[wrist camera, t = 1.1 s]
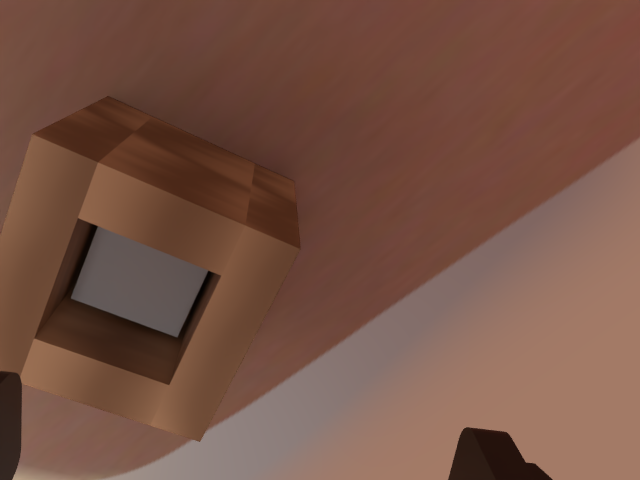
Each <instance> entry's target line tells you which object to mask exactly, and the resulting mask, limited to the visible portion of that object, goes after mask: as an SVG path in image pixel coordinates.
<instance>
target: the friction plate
mask: <svg viewBox="0 0 640 480" xmlns="http://www.w3.org/2000/svg"><path fill="white" fill-rule="evenodd" d="M207 272H208V270H206V269H204V268H201V267H199V266H196V265H194V264H191V263H189V262H186V261H184V260H181V259H179V258H176V257H174V256H171V255H169V254H166V253H164V252H161V251H159V250H156V249H154V248H151V247H149V246H146V245H144V244H141V243H139V242H136V241H134V240H131V239H129V238H126V237H124V236H121V235H119V234H116V233H114V232H111V231H109V230H106V229H104V228H101V227H99V226H98V228H97V230H96V233H95V236H94V238H93V241H92V244H91V246H90V249H89V251H88V254H87V257H86V259H85V262H84V265H83V267H82V270H81V273H80V275H79V278H78V280H77V283H76V286H75V288H74V291H73V294H72V296H71V299H74V300H77V301H79V302H82V303H85V304H88V305H90V306H93V307H96V308H98V309H101V310H104V311H107V312H109V313H112V314H115V315H117V316H120V317H123V318H126V319H128V320H131V321H134V322H137V323H139V324H142V325H145V326H147V327H150V328H153V329H156V330H158V331H161V332H164V333H166V334H169V335H172V336H175V337H178V335H179V333H180V330H181V328H182V326H183V324H184V322H185V320H186V317H187V315H188V313H189V311H190V309H191V307H192V305H193V302H194V300H195V298H196V296H197V294H198V292H199V290H200V287H201V285H202V283H203V281H204V279H205V277H206V275H207Z"/></svg>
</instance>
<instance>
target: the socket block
mask: <svg viewBox="0 0 640 480" xmlns="http://www.w3.org/2000/svg"><path fill="white" fill-rule="evenodd" d="M98 226H99V227H101V228H104V229H106V230H109V231H111V232H114V233H116V234H119V235H121V236H124V237H126V238H129V239H131V240H134V241H136V242H139V243H141V244H144V245H146V246H149V247H151V248H154V249H156V250H159V251H161V252H164V253H166V254H169V255H171V256H174V257H176V258H179V259H181V260H184V261H186V262H189V263H191V264H194V265H196V266H199V267H201V268H204V269H206V270H208V272H207V275H206V277H205V279H204V281H203V283H202V285H201V287H200V290H199V292H198V294H197V296H196V298H195V300H194V302H193V305H192V307H191V309H190V311H189V313H188V315H187V317H186V320H185V322H184V324H183V326H182V328H181V330H180V333H179V335H178V337H175V336H172V335H169V334H166V333H164V332H161V331H158V330H156V329H153V328H150V327H147V326H145V325H142V324H139V323H137V322H134V321H131V320H128V319H126V318H123V317H120V316H117V315H115V314H112V313H109V312H107V311H104V310H101V309H98V308H96V307H93V306H90V305H88V304H85V303H82V302H79V301H77V300H74V299H71V296H72V294H73V291H74V288H75V286H76V283H77V280H78V278H79V275H80V273H81V270H82V267H83V265H84V262H85V259H86V257H87V254H88V251H89V249H90V246H91V244H92V241H93V238H94V236H95V233H96V230H97V228H98ZM299 251H300V238H299V227H298V217H297V206H296V195H295V184H294V181H292V180H290V179H288V178H286V177H283V176H281V175H279V174H277V173H275V172H272V171H270V170H268V169H266V168H264V167H262V166H259V165H257V164H255V163H253V162H251V161H248V160H246V159H244V158H242V157H240V156H237V155H235V154H233V153H231V152H229V151H227V150H224V149H222V148H220V147H218V146H216V145H213V144H211V143H209V142H207V141H205V140H203V139H200V138H198V137H196V136H194V135H192V134H189V133H187V132H185V131H183V130H181V129H179V128H176V127H174V126H172V125H170V124H168V123H165V122H163V121H161V120H159V119H157V118H154V117H152V116H150V115H148V114H146V113H144V112H141V111H139V110H137V109H135V108H133V107H130V106H128V105H126V104H124V103H122V102H120V101H117V100H115V99H113V98H111V97H109V96H107V97H105V98H103V99H101V100H100V101H98V102H96V103H94V104H92V105H90V106H88V107H86V108H84V109H82V110H80V111H78V112H76V113H74V114H72V115H70V116H68V117H66V118H64V119H62V120H60V121H58V122H56V123H54V124H52V125H50V126H48V127H46V128H44V129H42V130H40V131H38V132H36V133H34V134H32V136H31V139H30V143H29V146H28V149H27V152H26V155H25V158H24V162H23V165H22V168H21V171H20V174H19V177H18V181H17V184H16V187H15V190H14V193H13V196H12V200H11V203H10V206H9V209H8V212H7V215H6V219H5V222H4V225H3V228H2V231H1V234H0V371H7V372H15V373H18V374H19V376H20V378H21V383H22V384H24V385H27V386H30V387H33V388H36V389H39V390H43V391H46V392H49V393H52V394H55V395H58V396H61V397H64V398H67V399H70V400H73V401H76V402H79V403H82V404H85V405H89V406H92V407H95V408H98V409H101V410H104V411H107V412H110V413H113V414H116V415H119V416H122V417H125V418H128V419H132V420H135V421H138V422H141V423H144V424H147V425H150V426H153V427H156V428H159V429H162V430H165V431H168V432H171V433H174V434H178V435H181V436H184V437H187V438H190V439H193V440H196V441H199V442H200V441H201V439H202V437H203V435H204V433H205V431H206V429H207V428H208V426H209V424H210V422H211V420H212V418H213V416H214V414H215V412H216V410H217V408H218V406H219V405H220V403H221V401H222V399H223V397H224V395H225V393H226V391H227V389H228V387H229V385H230V383H231V382H232V380H233V378H234V376H235V374H236V372H237V370H238V368H239V366H240V364H241V362H242V360H243V359H244V357H245V355H246V353H247V351H248V349H249V347H250V345H251V343H252V341H253V339H254V337H255V336H256V334H257V332H258V330H259V328H260V326H261V324H262V322H263V320H264V318H265V316H266V314H267V312H268V311H269V309H270V307H271V305H272V303H273V301H274V299H275V297H276V295H277V293H278V291H279V289H280V288H281V286H282V284H283V282H284V280H285V278H286V276H287V274H288V272H289V270H290V268H291V266H292V265H293V263H294V261H295V259H296V257H297V255H298V253H299Z"/></svg>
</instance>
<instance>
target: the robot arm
mask: <svg viewBox="0 0 640 480" xmlns="http://www.w3.org/2000/svg"><path fill="white" fill-rule="evenodd" d="M21 410H22V383H21V378H20V376H19V374H18V373H15V372H7V371H0V480H12V479H13V477H14V474H15V472H16V469H17V466H18V462H19V458H20V453H21ZM448 480H552V479H551V478H550V477H549V476H548V475H547V474H546V473H545V472H544V471H542V470H541V469H540V468H539V467H538V466H537V465H536V464H533V463H526V462H525V460H524V459H523V458H522V455H521V454H520V452H519V450H518V448H517V447H516V445H515V443H514V442H513V440H512V438H511V437H510V435H509V434H508V433H507V432H502V431H494V430H485V429H477V428H469V427H467V428H464V429H463V431H462V433H461V435H460V438H459V441H458V445H457V449H456V452H455V456H454V460H453V464H452V468H451V471H450V475H449V479H448Z"/></svg>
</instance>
